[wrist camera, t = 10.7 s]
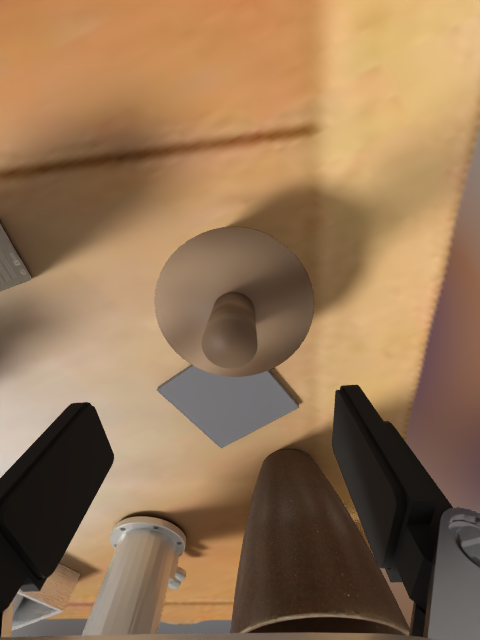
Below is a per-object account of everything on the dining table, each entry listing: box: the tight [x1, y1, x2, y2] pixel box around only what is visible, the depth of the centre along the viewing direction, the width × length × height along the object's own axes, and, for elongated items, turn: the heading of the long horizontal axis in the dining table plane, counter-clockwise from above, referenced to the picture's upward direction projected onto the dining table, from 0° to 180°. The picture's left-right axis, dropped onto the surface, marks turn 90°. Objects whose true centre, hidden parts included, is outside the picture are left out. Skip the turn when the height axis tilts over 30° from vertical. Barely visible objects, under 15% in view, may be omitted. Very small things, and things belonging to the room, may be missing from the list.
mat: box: [157, 365, 299, 448], centre depth 29 cm, size 12×12×1 cm
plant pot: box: [230, 449, 410, 636], centre depth 27 cm, size 15×15×16 cm
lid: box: [155, 227, 314, 377], centre depth 17 cm, size 12×12×6 cm
